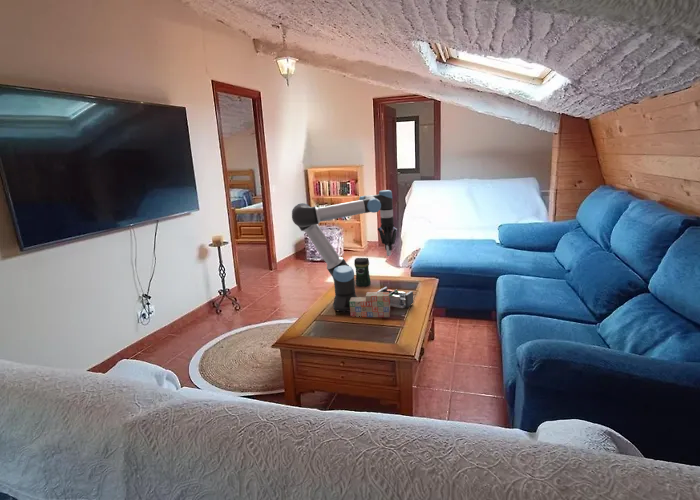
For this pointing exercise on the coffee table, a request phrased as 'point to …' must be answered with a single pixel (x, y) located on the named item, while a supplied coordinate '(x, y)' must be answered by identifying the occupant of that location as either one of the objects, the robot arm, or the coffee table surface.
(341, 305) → the robot arm
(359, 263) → the coffee jar
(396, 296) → the gauge body
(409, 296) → the plunger
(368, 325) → the coffee table surface
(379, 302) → the stack of blocks
